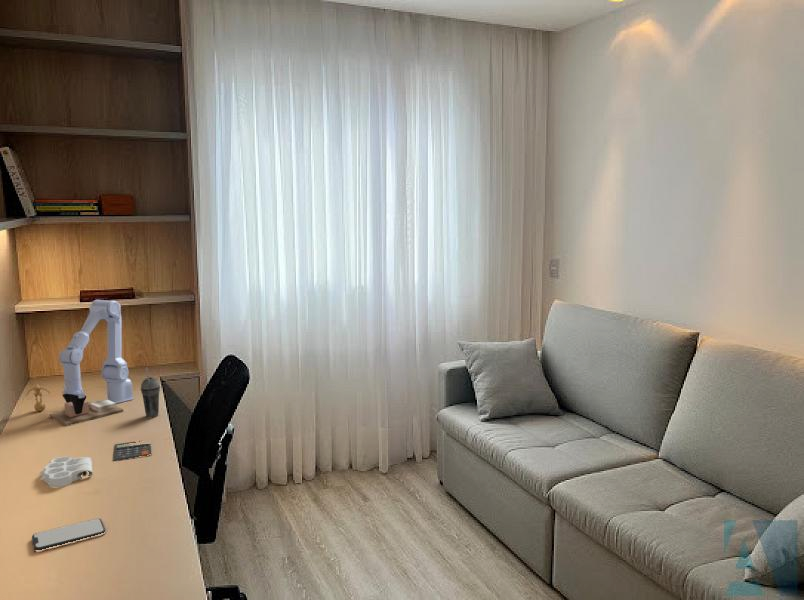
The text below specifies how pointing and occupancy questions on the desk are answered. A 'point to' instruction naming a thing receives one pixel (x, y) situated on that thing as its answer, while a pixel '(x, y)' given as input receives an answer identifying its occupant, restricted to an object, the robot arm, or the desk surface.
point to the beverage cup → (150, 396)
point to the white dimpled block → (66, 470)
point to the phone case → (67, 534)
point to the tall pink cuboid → (70, 409)
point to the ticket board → (95, 411)
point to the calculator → (130, 451)
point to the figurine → (40, 405)
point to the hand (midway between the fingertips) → (75, 412)
